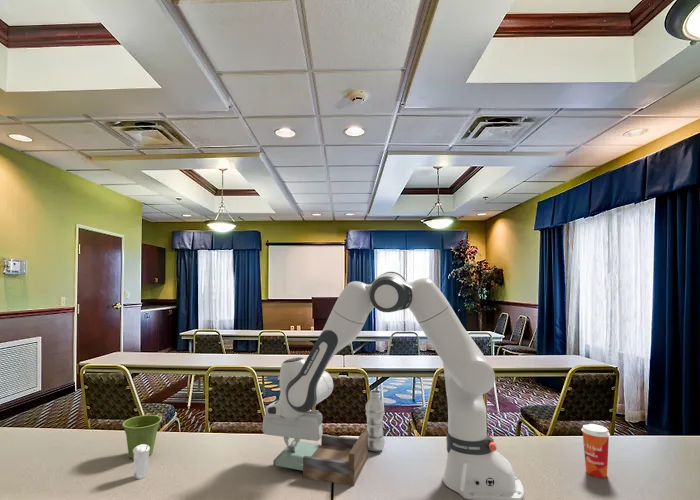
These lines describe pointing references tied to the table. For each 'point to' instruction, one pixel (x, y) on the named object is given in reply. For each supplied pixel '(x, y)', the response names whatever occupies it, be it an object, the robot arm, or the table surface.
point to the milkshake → (140, 460)
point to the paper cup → (596, 449)
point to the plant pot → (141, 431)
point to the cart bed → (337, 459)
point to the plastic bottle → (375, 421)
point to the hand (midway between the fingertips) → (292, 450)
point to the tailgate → (296, 455)
